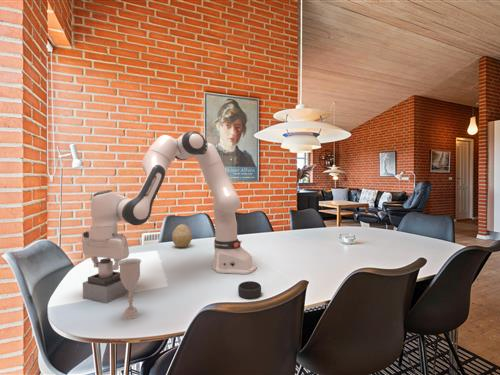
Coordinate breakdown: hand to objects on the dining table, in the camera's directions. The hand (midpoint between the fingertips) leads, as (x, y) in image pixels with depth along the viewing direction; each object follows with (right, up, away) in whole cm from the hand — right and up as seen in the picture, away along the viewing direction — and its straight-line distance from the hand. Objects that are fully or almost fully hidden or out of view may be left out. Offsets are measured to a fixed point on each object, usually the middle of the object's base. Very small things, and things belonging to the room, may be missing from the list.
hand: (106, 268), depth 109 cm
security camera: (0, -5, 0) cm, 5 cm away
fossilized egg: (+11, -8, +75) cm, 76 cm away
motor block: (-2, -11, +1) cm, 11 cm away
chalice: (+16, -11, -16) cm, 25 cm away
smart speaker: (+55, -11, 0) cm, 56 cm away
